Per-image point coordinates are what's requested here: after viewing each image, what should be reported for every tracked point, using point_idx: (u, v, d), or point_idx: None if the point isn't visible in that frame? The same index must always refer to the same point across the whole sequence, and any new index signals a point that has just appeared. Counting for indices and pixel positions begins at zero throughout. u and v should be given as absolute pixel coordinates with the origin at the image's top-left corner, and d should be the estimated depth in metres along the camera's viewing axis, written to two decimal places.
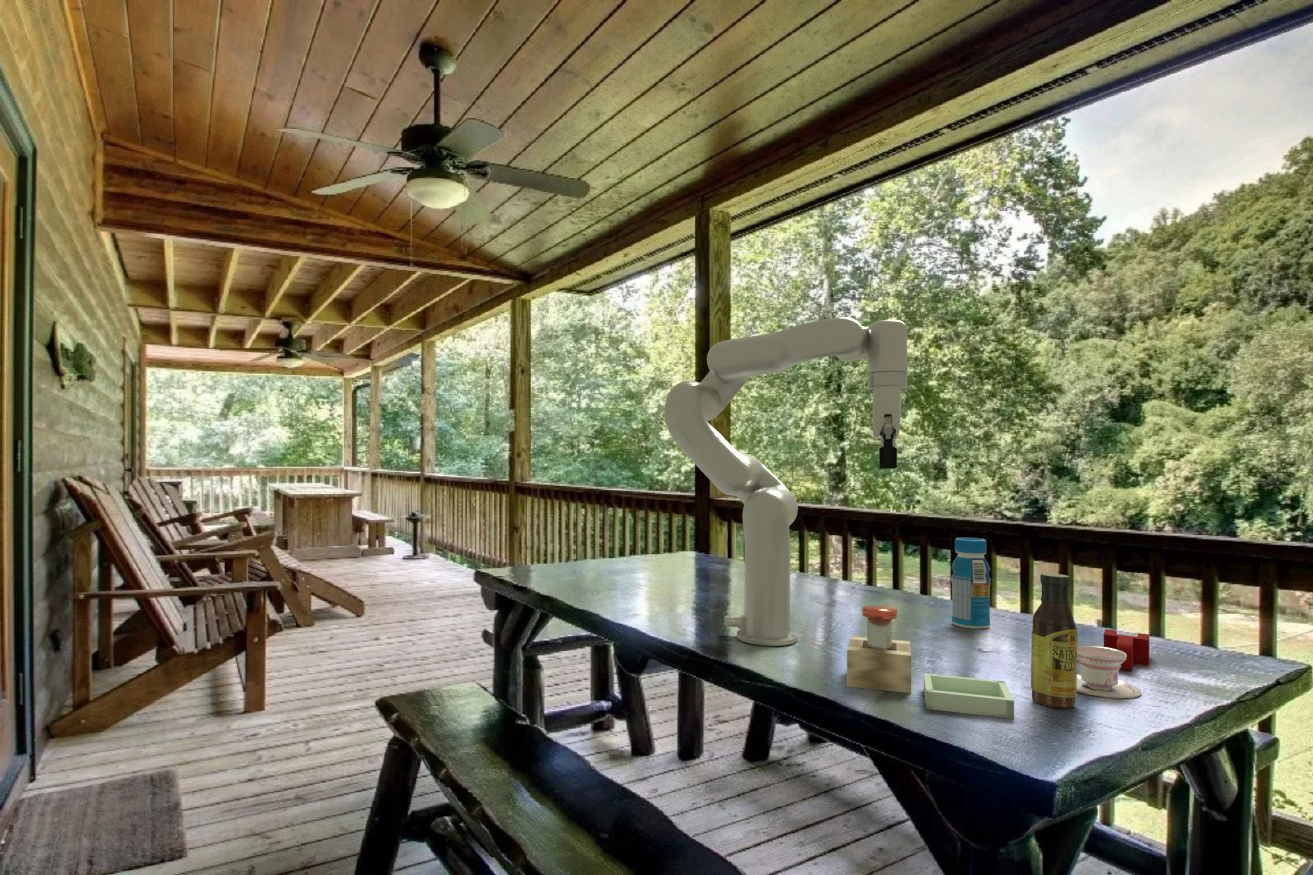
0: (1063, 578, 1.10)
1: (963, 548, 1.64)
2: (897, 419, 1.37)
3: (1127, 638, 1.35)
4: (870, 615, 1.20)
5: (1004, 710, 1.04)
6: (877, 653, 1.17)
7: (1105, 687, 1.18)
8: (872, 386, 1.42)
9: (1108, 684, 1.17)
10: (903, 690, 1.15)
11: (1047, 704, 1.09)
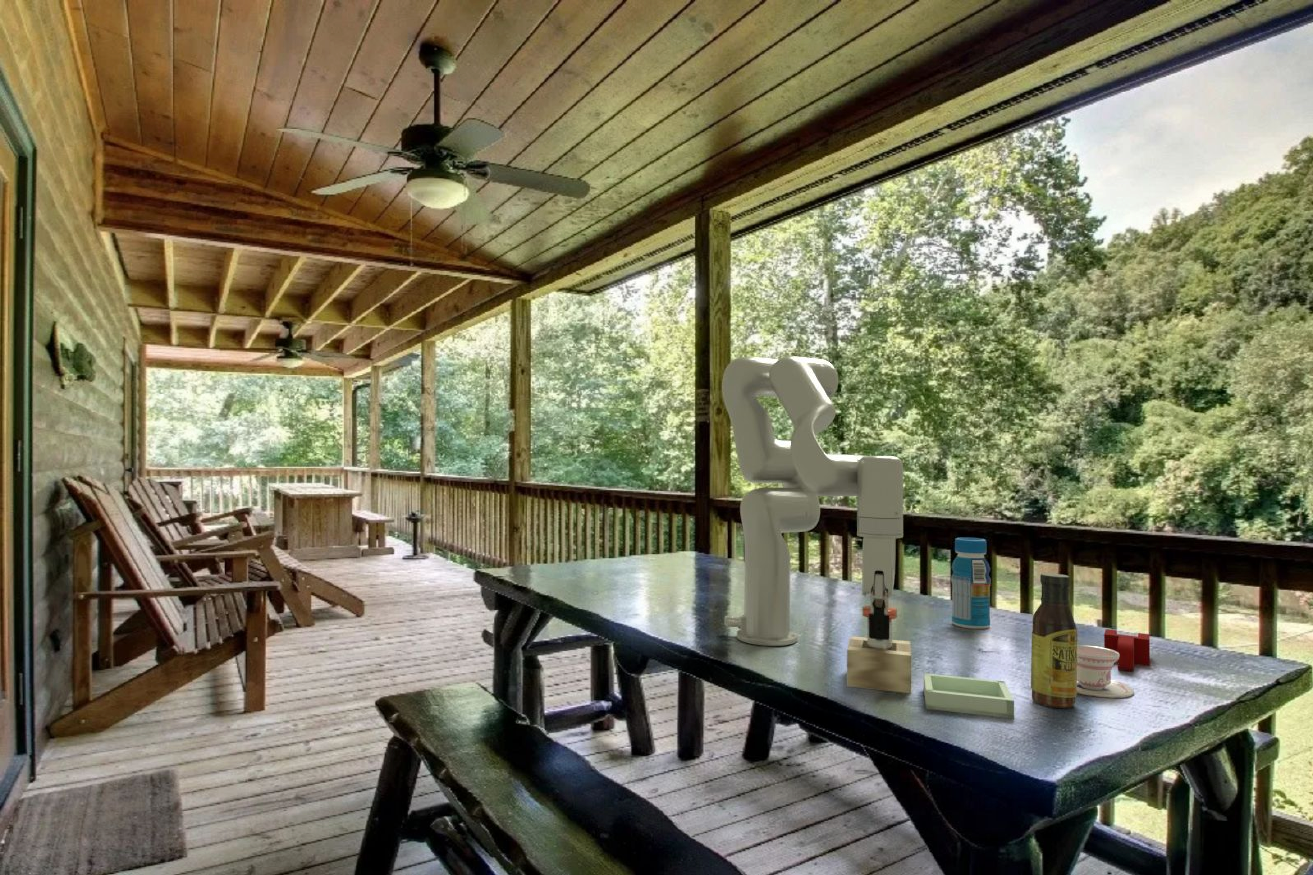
0: (1063, 578, 1.10)
1: (963, 548, 1.64)
2: (890, 577, 1.17)
3: (1128, 638, 1.35)
4: None
5: (1004, 710, 1.04)
6: (877, 653, 1.17)
7: (1098, 686, 1.18)
8: (862, 533, 1.21)
9: (1101, 683, 1.17)
10: (903, 690, 1.15)
11: (1047, 704, 1.09)
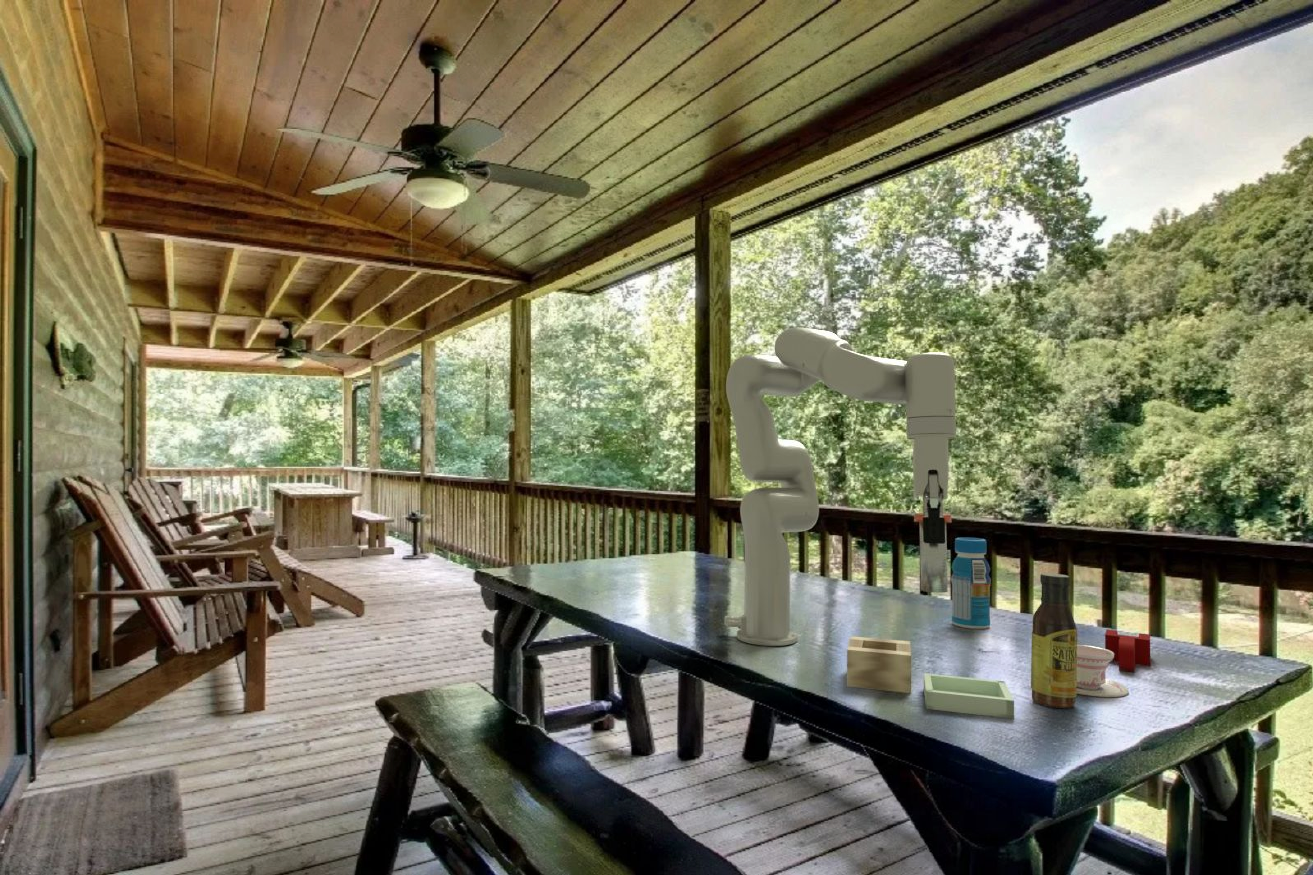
0: (1063, 578, 1.10)
1: (963, 548, 1.64)
2: (945, 476, 1.11)
3: (1129, 638, 1.34)
4: None
5: (1004, 710, 1.04)
6: (877, 653, 1.17)
7: (1092, 686, 1.18)
8: (912, 434, 1.15)
9: (1095, 683, 1.17)
10: (903, 690, 1.15)
11: (1047, 704, 1.09)
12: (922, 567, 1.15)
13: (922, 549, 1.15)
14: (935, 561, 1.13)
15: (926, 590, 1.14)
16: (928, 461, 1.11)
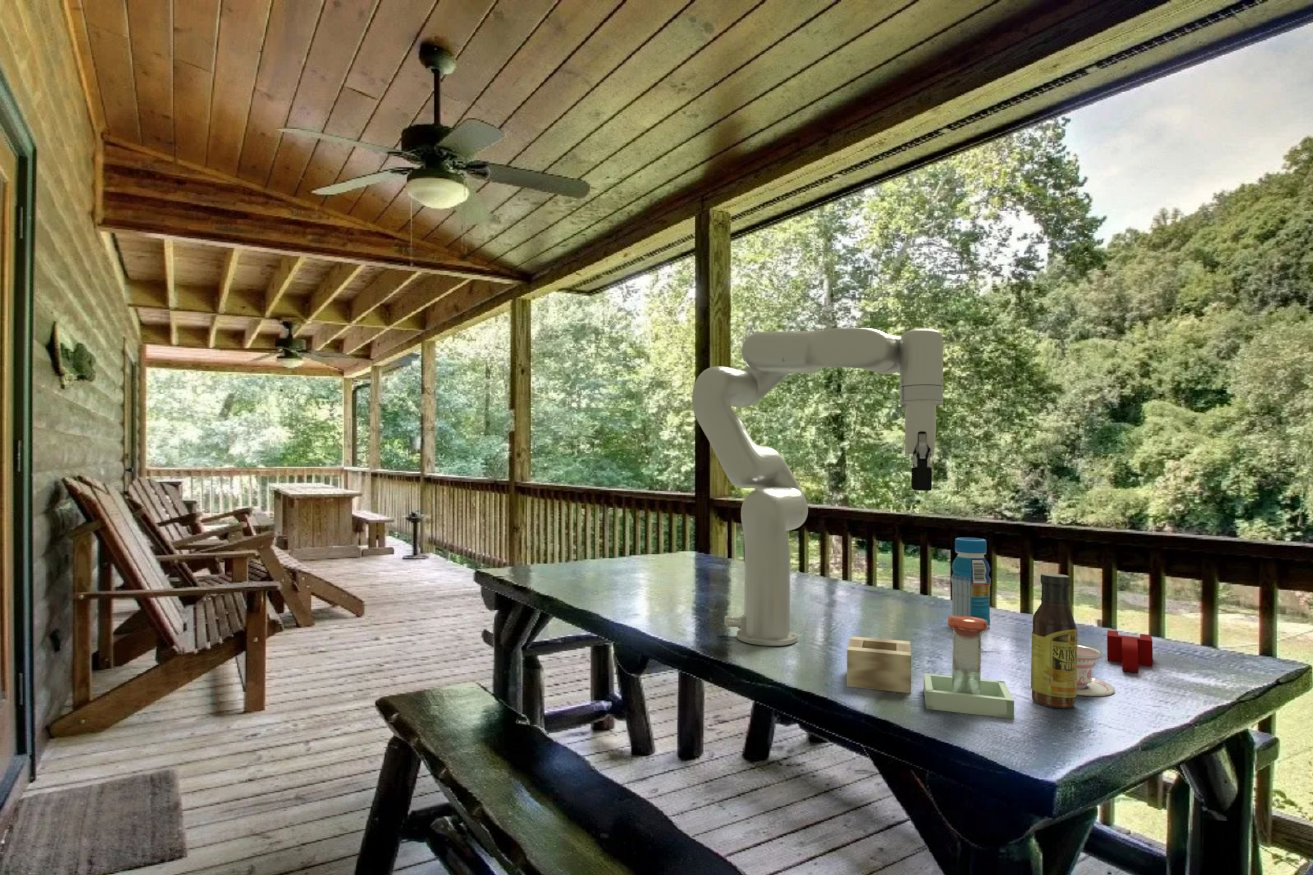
0: (1063, 578, 1.10)
1: (963, 548, 1.64)
2: (932, 437, 1.27)
3: (1131, 639, 1.34)
4: (959, 626, 1.09)
5: (1004, 710, 1.04)
6: (877, 653, 1.17)
7: (1079, 685, 1.19)
8: (905, 401, 1.31)
9: (1082, 682, 1.18)
10: (903, 690, 1.15)
11: (1047, 704, 1.09)
12: (954, 674, 1.10)
13: (955, 656, 1.10)
14: (969, 670, 1.09)
15: None
16: (918, 424, 1.28)
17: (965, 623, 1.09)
